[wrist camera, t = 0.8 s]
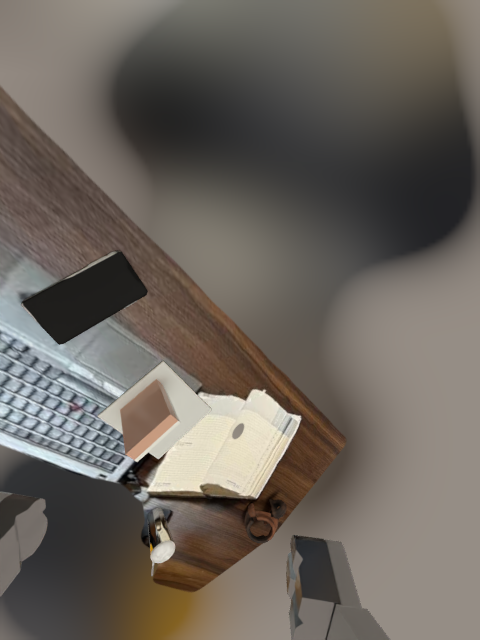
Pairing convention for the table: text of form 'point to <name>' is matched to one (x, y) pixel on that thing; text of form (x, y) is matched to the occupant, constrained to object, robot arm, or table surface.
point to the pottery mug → (267, 517)
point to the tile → (147, 420)
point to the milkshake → (159, 537)
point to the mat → (181, 397)
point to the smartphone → (86, 297)
